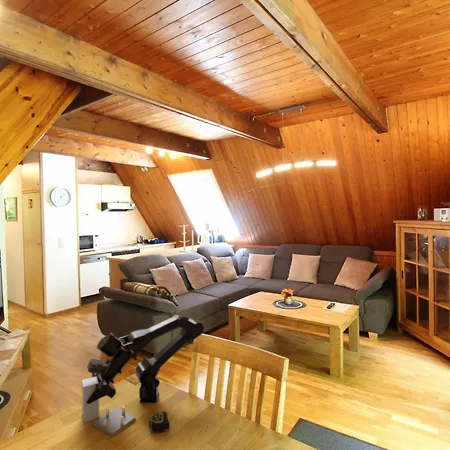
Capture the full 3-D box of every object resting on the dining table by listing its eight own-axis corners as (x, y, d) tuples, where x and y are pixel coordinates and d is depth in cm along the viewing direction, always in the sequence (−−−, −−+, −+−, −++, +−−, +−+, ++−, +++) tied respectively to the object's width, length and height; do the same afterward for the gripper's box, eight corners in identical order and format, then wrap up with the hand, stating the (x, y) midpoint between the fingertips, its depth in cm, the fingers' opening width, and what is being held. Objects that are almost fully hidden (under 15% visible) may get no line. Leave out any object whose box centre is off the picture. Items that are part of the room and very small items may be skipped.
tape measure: (170, 432, 110) (170, 422, 110) (149, 436, 108) (149, 425, 108) (167, 419, 117) (167, 409, 116) (148, 423, 115) (148, 413, 114)
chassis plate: (117, 409, 121) (116, 400, 121) (135, 419, 116) (135, 410, 116) (93, 425, 113) (93, 415, 113) (112, 436, 108) (112, 426, 107)
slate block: (96, 409, 121) (96, 376, 120) (99, 417, 117) (98, 383, 116) (82, 413, 119) (81, 380, 118) (84, 422, 114) (83, 386, 113)
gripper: (97, 341, 126) (66, 376, 121) (105, 362, 110) (70, 403, 105) (118, 356, 131) (89, 390, 126) (129, 378, 115) (96, 418, 110)
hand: (86, 399), depth 117 cm, fingers closed on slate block, 5 cm apart
